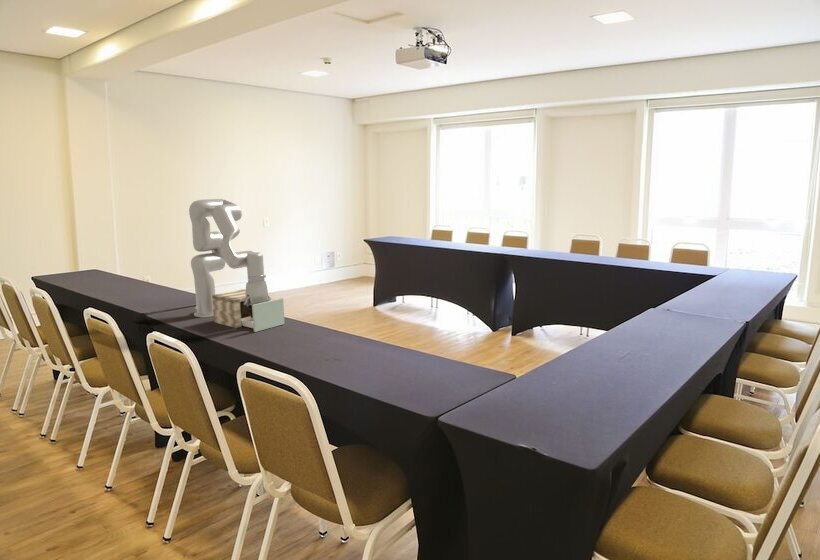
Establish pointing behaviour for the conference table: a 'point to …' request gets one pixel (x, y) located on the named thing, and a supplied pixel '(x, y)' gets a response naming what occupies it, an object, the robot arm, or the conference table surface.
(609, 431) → the conference table surface
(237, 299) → the beige brown striped box
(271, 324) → the mint green drawer
